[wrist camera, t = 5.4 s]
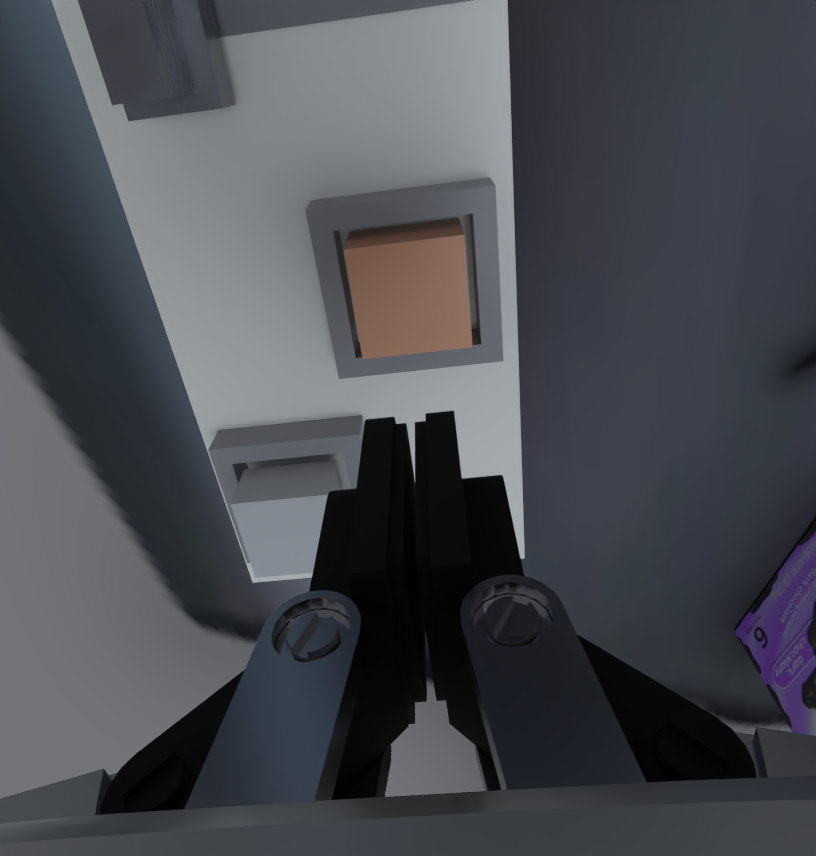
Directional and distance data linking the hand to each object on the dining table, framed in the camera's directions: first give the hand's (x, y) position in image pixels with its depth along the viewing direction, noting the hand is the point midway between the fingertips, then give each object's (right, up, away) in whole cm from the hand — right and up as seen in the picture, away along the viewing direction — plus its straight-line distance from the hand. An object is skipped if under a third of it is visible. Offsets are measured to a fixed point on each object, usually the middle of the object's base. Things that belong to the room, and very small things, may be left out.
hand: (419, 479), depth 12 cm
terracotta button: (0, +7, +12) cm, 13 cm away
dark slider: (-8, +14, +7) cm, 17 cm away
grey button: (-5, -2, +15) cm, 16 cm away
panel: (-3, +8, +14) cm, 17 cm away
